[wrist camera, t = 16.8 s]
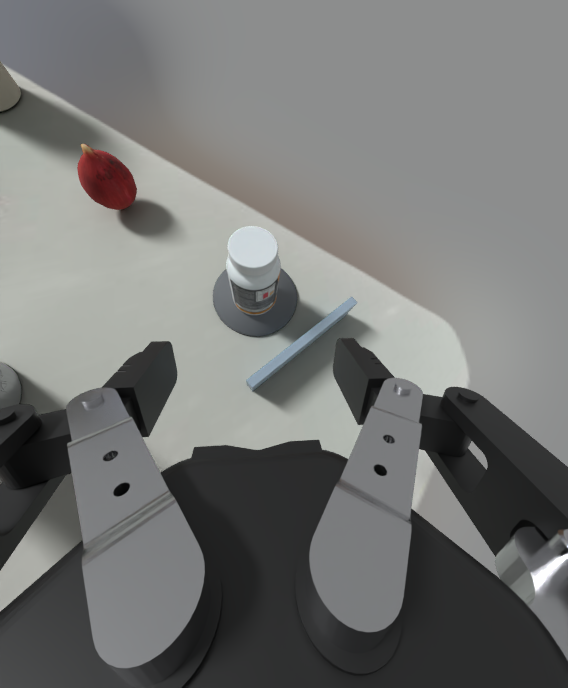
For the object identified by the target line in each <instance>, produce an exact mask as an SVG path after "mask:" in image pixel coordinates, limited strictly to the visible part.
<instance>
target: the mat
mask: <svg viewBox="0 0 568 688" xmlns="http://www.w3.org/2000/svg"><path fill="white" fill-rule="evenodd" d="M213 302H214V307H215V309H216V312H217V314H218V316H219V317H220V319H221V320H222V321H223V322H224V323H225V324H226V325H227V326H228V327H229V328H231V329H232V330H234V331H236V332H238V333H241V334H244V335H249V336H263V335H268V334H271V333H274V332H276V331H278V330H279V329H281V328H282V327H283V326H285V325H286V324H287V323H288V321H289V320H290V319H291V317H292V316H293V313H294V311H295V308H296V304H297V293H296V288H295V285H294V283H293V281H292V280H291V278H290V277H289V275H288V274H287V273H286V272H285V271H284V270H283V269H281V268H280V276H279V283H278V291H277V297H276V301H275V304H274V305H273V307H272V308H271V309H270V310H269V311H268V312H266V313H264V314H261V315H249V314H246V313H244V312H242V311H241V310H239V309H238V308H237V306H236V305H235V303H234V301H233V297H232V293H231V288H230V284H229V279H228V275H227V270H225V271H224V272H223V273H222V274H221V275H220V276H219V278H218V279H217V281H216V283H215V286H214V290H213Z"/></svg>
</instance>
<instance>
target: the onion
mask: <svg viewBox="0 0 568 688" xmlns="http://www.w3.org/2000/svg"><path fill="white" fill-rule="evenodd" d="M81 147H82V151H83V155H82V156H81V158H80V160H79V163H78V175H79V180H80V183H81V185H82V187H83V188H84V190H85V191H86V193H87V194H88V195H89V196H90V197H91V198H92V199H93V200H94V201H95V202H97V203H99V204H101V205H103V206H105V207H107V208H110V209H116V210H121V209H125V208H127V207H129V206H130V205H131V204H132V203H133V202H134V200H135V197H136V193H137V188H136V185H135V182H134V179H133V176H132V174H131V172H130V171H129V169H128V168H127V167H126V166H125V165H124V164H123V163H122V162H120V161H119V160H118V159H117V158H116V157H114V156H113V155H111V154H109V153H107V152H104V151H101V150H94V149H92V148H90V147H89V146H88V145H86V144H81Z"/></svg>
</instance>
